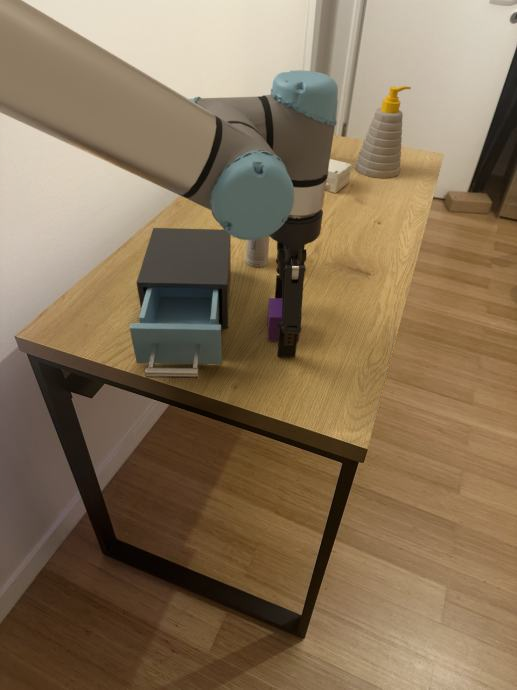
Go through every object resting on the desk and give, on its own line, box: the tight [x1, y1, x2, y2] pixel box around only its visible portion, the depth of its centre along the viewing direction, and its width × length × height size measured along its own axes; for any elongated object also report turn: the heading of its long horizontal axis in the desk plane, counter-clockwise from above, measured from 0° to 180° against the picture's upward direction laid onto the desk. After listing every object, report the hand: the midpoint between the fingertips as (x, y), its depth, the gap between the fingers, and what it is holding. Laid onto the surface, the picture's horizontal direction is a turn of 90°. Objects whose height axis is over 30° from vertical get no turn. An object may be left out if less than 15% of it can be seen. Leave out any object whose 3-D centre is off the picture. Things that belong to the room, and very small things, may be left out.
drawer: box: [129, 287, 223, 379], centre depth 70 cm, size 22×13×7 cm, turn 1°
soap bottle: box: [354, 85, 412, 179], centre depth 121 cm, size 12×12×20 cm
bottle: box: [245, 236, 270, 268], centre depth 85 cm, size 4×4×20 cm
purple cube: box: [266, 297, 303, 342], centre depth 75 cm, size 5×5×5 cm
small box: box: [325, 158, 352, 194], centre depth 117 cm, size 8×8×5 cm
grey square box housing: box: [136, 227, 232, 329], centre depth 79 cm, size 17×14×9 cm
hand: (284, 330), depth 76 cm, fingers open, 11 cm apart
